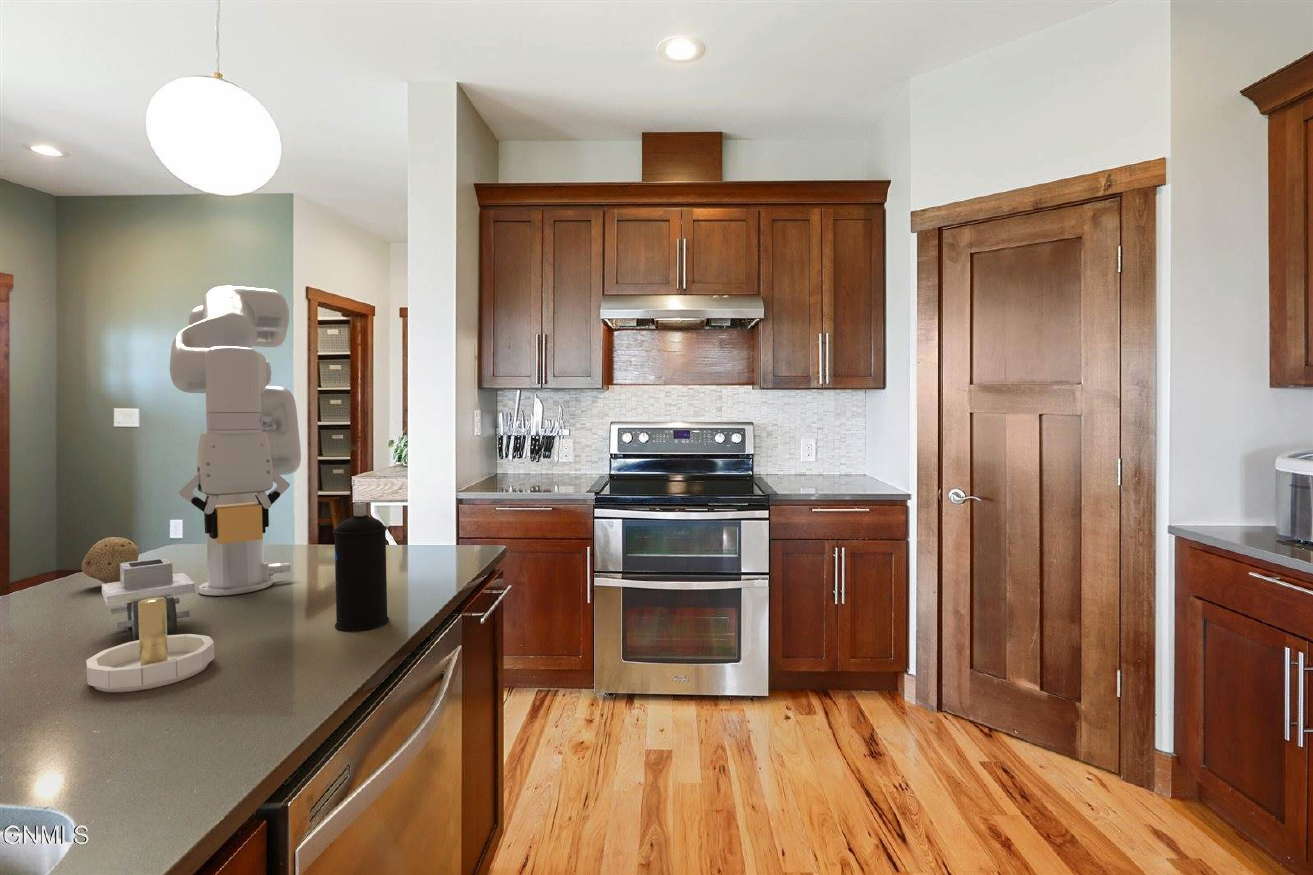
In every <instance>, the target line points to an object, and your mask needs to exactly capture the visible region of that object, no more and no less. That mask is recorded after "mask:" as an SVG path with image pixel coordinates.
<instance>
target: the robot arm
mask: <svg viewBox="0 0 1313 875" xmlns="http://www.w3.org/2000/svg"><path fill="white" fill-rule="evenodd" d="M289 323H290V309H289V305H288V302H287V300H286V299H285V297H284V295H283V294H281V293H280V292H279V291H277V290H275V289H270V288H257V287H247V286H238V285H237V286H233V285H221V286H216V287H213V288H211V289H210V290H209V291H207V292H206V293H205V295H204V297H203V301H202V305H199V306H197V307H195V308H194V309H192V310H191V311H190V314H189V317H188V326H186V327H184V328H183V329H181V330H180V331H178V332H177V334H176V335H175V337H174V339H173V341H172V344H171V346H170V347H171V349H170V357H169V375H170V379H171V382H172V384H173V385H174V387H176V389H178V390H179V391H181V392H183V393H189V394H205V412H206V413H205V416H206V418H205V419H206V421H205V422H206V432H200V436H199V439H198V445H197V457H196V473H195V475H193V476H192V477H191V478H190V479H188V481H187V482H186V483H185V484H184V485H182V487H180V488H179V489H178V491H177V493H178V495H179V496H181V497H182V498H183V499H185V500H186V501H187V502H189V503H190V504H192V505H193V506H195V507H196V508H197V509H199V510H200V511H202V512H203V517H204V534H206V558H207V559H206V561H207V566H206V567H207V581H206V582H203V583H202V584H200V585H198V593H199V594H201V595H204V596H212V597H213V596H214V597H215V596H231V595H234V596H235V595H239V594H247V593H252V592H256V591H259V590H263V589H266V588H269V587H270V586H272V585H273V583H274V578H273V577H272V576H274V574H285V573H289V572H291V563H290V562H284V563H283V562H282V563H280V562H278V563H277V562H276V563H269V562H267V561H265V560H264V559H265V558H264V556H265V554H264V538H263V539H259V540H250V541H242V542H234V543H225V544H218V543H217V542H216V541H214V540H213V539H217V538H218V527H217V514H216V513H215V509H214V508H215V506H217V505H229V504H240V503H252V502H255V503H257V504H260V505H262V531H263V534H266V532H267V531H266V528H268V527H270V520H269V518H270V515H269V511H270V508H271V506H272V505H274V503H276V501H277V500H278V499H279V498H280V497H281V495H283V494H284V492H286V491H287V490H288V489H289V488H290V486H291V484H290V482H288V481H287V480H286V479H285V478H284V477H283V476H286V475H292V474H294V473H296V472H297V471H298V469H299V468H300V466H301V458H302V453H301V440H300V432H299V420H298V412H297V411H298V410H297V403H296V400H295V396H294V395H293V393H292V392H291V390H289V389H288V388H286V387H283V386H277V385H269V384H270V383H271V380H272V368H271V367H272V366H271V363H270V361H269V360H267V358H266V357H265V355H263V353H262V352H259V351H257V350H255V349H253V348H252V347H256V348H257V347H258V348H259V347H261V348H276V347H280V346H282V345H283V343H284V341H285V340H286V337H287V332H288V328H289ZM274 483H275V484H276V487H275V488H274V489H272V488H273V486H274ZM196 488H197V491H198V492H200V493H201V494H204V497H205V498H204V500H203V499H202V498H200V497H198V496H197V495H196V494H194V492H193V491H194V490H195V489H196ZM271 489H272V490H271ZM270 490H271V491H270ZM267 491H270V492H269V493H268V494H267Z"/></svg>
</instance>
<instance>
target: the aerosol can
mask: <svg viewBox="0 0 1313 875" xmlns="http://www.w3.org/2000/svg"><path fill="white" fill-rule="evenodd" d="M352 507H353V509H352V510H353V515H352V516H351V517H349V518H346V519H345V520H343V521H341V522H340V523H339V524H338V525H337V526H336V528H334V529H333V530H332V534H333V535H334V536H333V537H334V566H335V575H334V576H335V612H336V614H335V617H336V619H335V620H336V622H335V624H334V628H335V629H336V630H338V631H342V632H363V631H364V632H365V631H370V630H375V629H377V628H378V629H379V628H381V627H382V626H385V625H387V624H388V623H389V621H390V617H389V616H388V588H387V587H388V585H387V583H388V582H387V544H386V543H387V537H386V532H387V530H388V526H386V525H384V523H383V522H382V521H381V520H379V519H378V518H376V517H372V516H369V515H367V503H366V502H356V503H355V502H354V503H353V504H352Z"/></svg>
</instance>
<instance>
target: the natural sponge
mask: <svg viewBox="0 0 1313 875" xmlns="http://www.w3.org/2000/svg"><path fill="white" fill-rule="evenodd" d="M139 556H140V552H139V548H138V545H136V544H135V543H134V542H132V540H130V539H129V538H125V537H117V536H111V537H110V536H109V537H105V538H103V539H101V540H98V541H96V543H95V544H93V545H92V546H91V548H90V549H89V551H87V553H86V555H85V556H84V558H83V560H82V561H81V570H82V572H83V574H84V575H85V576H87V577H89V578H92V579H95V580H98V581H100V582H102V584H106V583H113V582H120V581H121V578H120V563H125V562H134V561H139Z"/></svg>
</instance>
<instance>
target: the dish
mask: <svg viewBox="0 0 1313 875" xmlns="http://www.w3.org/2000/svg"><path fill="white" fill-rule="evenodd" d="M167 643H168V661H163V662H158V663H153V664H148V665H144V666H140V645H139V640H137V641H134V640H133V641H128V642H125V643H122V644H119V645H116V646H113V647H109V648H107V649H103V650H101V651H99V652H98V653H96V654H94V655H92V656H91V657H89V658H87V659H86V661H85V662H86V663H85V666H86V681H87V684H88V686H92V687H93V688H94V689H95V690H97V691H99V692H105V693H127V692H129V693H130V692H136V691H145V690H150V689H155V688H160V687H163V686H168V685H171V684H175V683H177V682H181V681H183V680H186V679H189V678H191V677H194V676H196V675H197V674H200V673H201V672H203V671H204V670H206V669H207V667H208V666H209V664H210V663H211V661H213V660H214V659H215V641H214V640H213V639H212V638H211V636H209V635H202V634H194V633H184V634H183V633H182V634H181V633H180V634H176V635H167Z"/></svg>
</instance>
